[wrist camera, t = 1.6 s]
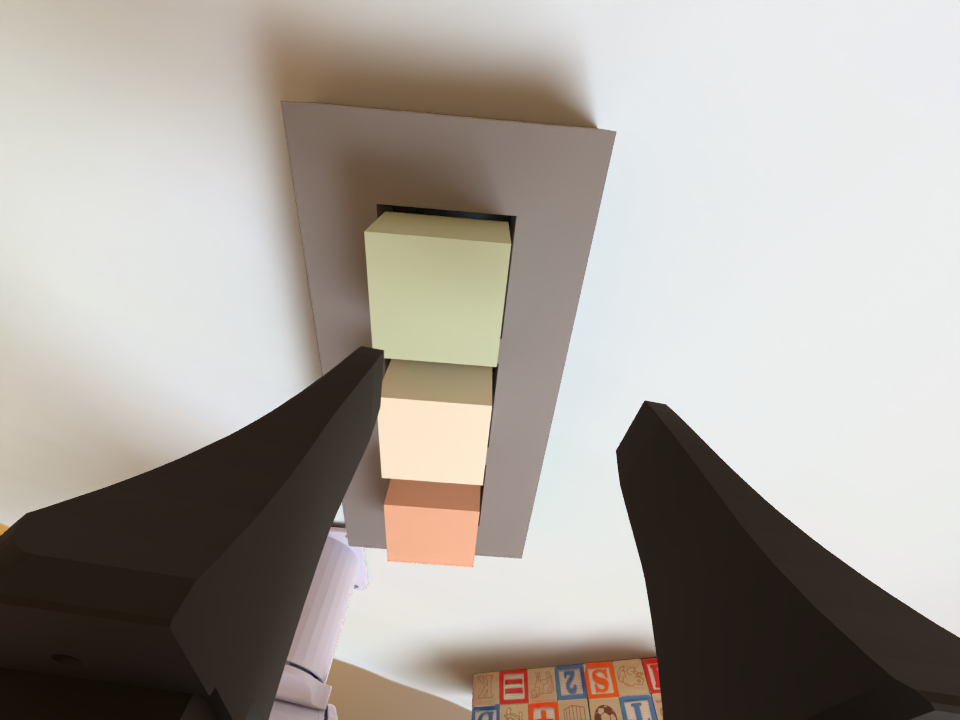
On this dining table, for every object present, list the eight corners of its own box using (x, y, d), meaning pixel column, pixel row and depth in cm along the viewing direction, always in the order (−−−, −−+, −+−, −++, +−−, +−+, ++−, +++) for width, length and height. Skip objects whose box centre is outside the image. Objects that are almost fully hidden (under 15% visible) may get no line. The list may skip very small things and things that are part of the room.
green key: (390, 321, 19) (373, 357, 16) (385, 211, 16) (364, 231, 14) (496, 330, 19) (496, 367, 16) (508, 221, 17) (511, 243, 14)
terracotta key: (398, 514, 26) (387, 561, 24) (396, 459, 24) (383, 504, 21) (475, 520, 26) (473, 567, 24) (481, 465, 24) (479, 511, 21)
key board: (360, 509, 31) (348, 546, 28) (312, 102, 17) (280, 101, 14) (519, 521, 31) (521, 558, 28) (597, 128, 17) (616, 131, 15)
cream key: (395, 434, 23) (381, 477, 20) (391, 357, 20) (375, 397, 17) (484, 440, 23) (482, 485, 20) (492, 366, 20) (492, 405, 17)
